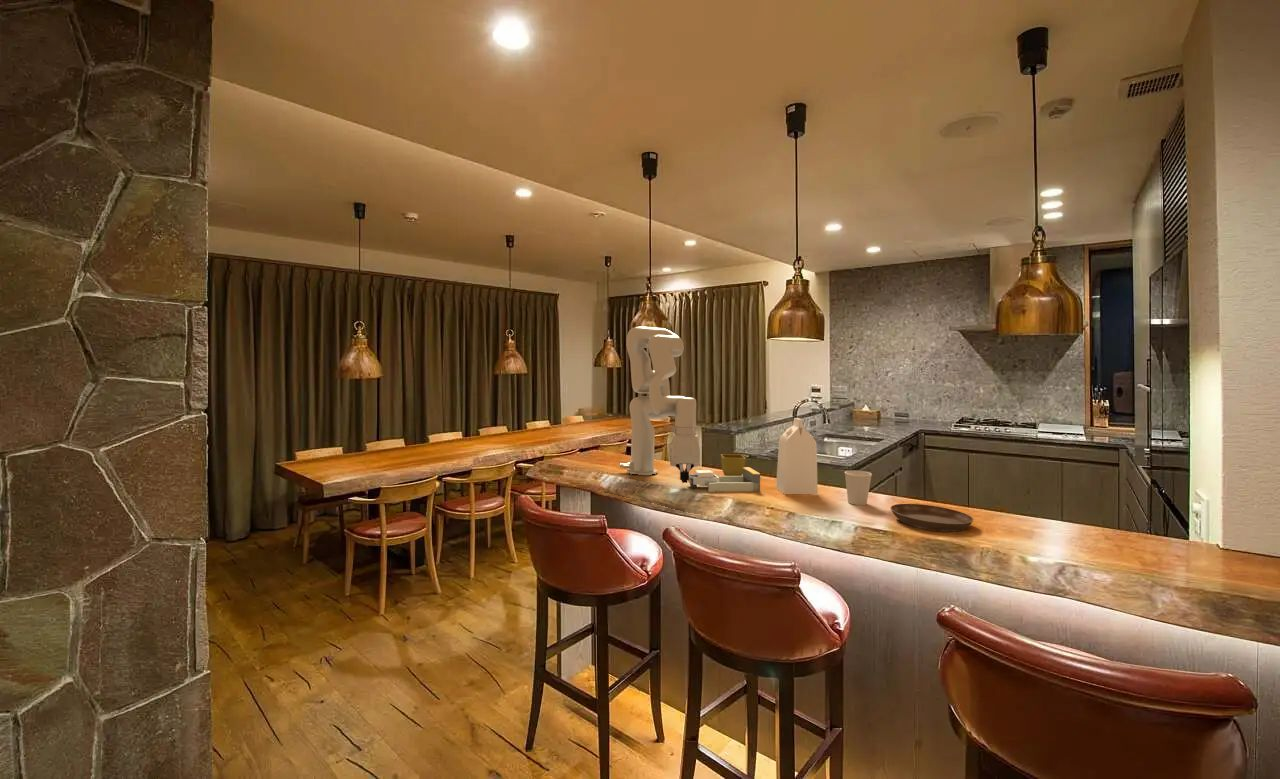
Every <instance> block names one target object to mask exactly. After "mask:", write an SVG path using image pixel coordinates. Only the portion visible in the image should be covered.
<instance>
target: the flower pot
mask: <svg viewBox="0 0 1280 779" xmlns="http://www.w3.org/2000/svg"><path fill="white" fill-rule="evenodd" d="M746 459H747V458H746V457H745V456H744V455H743V454H730V453H728V454H727V453H723V454H721V453H720V462H721V463H720V464H721V465H720V466H721V470H722V473H723V476H743V467H746V466H745V465H746Z"/></svg>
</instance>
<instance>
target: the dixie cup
mask: <svg viewBox="0 0 1280 779" xmlns="http://www.w3.org/2000/svg"><path fill="white" fill-rule="evenodd" d="M844 475H845V484H846V497H847V503H848V504H850V503H851V505H853V504H856V505H855V506H866V504H868V499H869V491H870V487H871V482H872V481H871V480H872V476H873V474H872V472H869V471H864V470H845V471H844Z"/></svg>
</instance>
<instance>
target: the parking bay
mask: <svg viewBox="0 0 1280 779" xmlns="http://www.w3.org/2000/svg"><path fill="white" fill-rule="evenodd" d="M717 476H718V477H719V482H717V483H709V485H707V486H708V490H707V491H708V493H714V492H715V491H717V492H761V473H760V472H758V471H756V470H755V469H753V468H752V467H749V466H747V467H746V466H745V467H743V474H742V476H725V475H717ZM715 493H716V492H715Z"/></svg>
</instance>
